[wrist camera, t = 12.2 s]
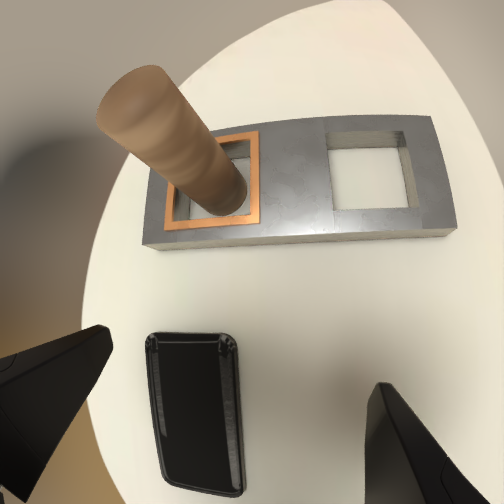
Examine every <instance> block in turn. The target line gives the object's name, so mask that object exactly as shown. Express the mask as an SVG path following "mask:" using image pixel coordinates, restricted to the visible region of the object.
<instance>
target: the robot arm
mask: <svg viewBox="0 0 504 504" xmlns="http://www.w3.org/2000/svg"><path fill="white" fill-rule="evenodd" d="M112 351H113V342H112V338H111V334H110V330H109V328H108V327H106V326H103V325H95V326H92V327H89V328H87V329H84V330H81V331H78V332H76V333H73V334H70V335H67V336H64V337H62V338H59V339H56V340H53V341H50V342H47V343H45V344H42V345H39V346H36V347H33V348H30V349H27V350H25V351H22V352H19V353H18V354H17V353H16V354H13V355H10V356H7V357H4V358H1V359H0V490H1V489H2V487H5V488H6V489H7V490H8V491H10V492H11V493H12V494H13V495H15V496H16V497H17V498H19V499H20V500H21V501H23V502H24V503H26V502H27V500H28V499H29V497H30V495H31V493H32V491H33V489H34V487H35V485H36V483H37V481H38V480H39V478H40V476H41V474H42V472H43V470H44V469H45V467H46V464H47V463H48V461H49V459H50V457H51V456H52V454H53V453H54V451H55V449H56V447H57V446H58V444H59V442H60V441H61V439H62V437H63V435H64V434H65V432H66V431H67V429H68V427H69V426H70V424H71V422H72V421H73V419H74V417H75V416H76V414H77V412H78V411H79V409H80V407H81V406H82V404H83V403H84V401H85V400H86V398H87V397H88V395H89V393H90V392H91V390H92V389H93V387H94V385H95V384H96V382H97V380H98V378H99V376H100V374H101V372H102V370H103V368H104V367H105V365H106V363H107V361H108V359H109V357H110V355H111V353H112ZM0 504H4V498H3V493H1V492H0ZM365 504H490V503H489V502H488V501H487V500H486V499H485V498H484V497H483V496H482V495H481V493H480V492H479V491H478V490H477V489H476V488H475V487H474V486H473V485H472V484H471V483H470V482H469V481H468V480H467V479H466V478H465V476H464V475H463V474H462V473H461V472H460V470H459V469H458V468H457V467H456V465H455V464H454V463H453V462H452V460H451V459H450V458H449V457H447V454H446V453H445V451H444V450H443V449H442V447H441V446H440V445H439V444H438V442H437V441H436V440H435V438H434V437H433V436H432V435H431V433H430V432H429V431H428V429H427V428H426V427H425V426H424V424H423V423H422V422H421V421H420V419H419V418H418V417H417V416H416V414H415V413H414V412H413V410H412V409H411V408H410V407H409V405H408V404H407V403H406V402H405V400H404V399H403V398H402V397H401V395H400V394H399V393H398V392H397V391H396V389H395V388H394V387H393V386H392V384H390V383H387V382H378V383H377V384H376V386H375V388H374V390H373V392H372V394H371V396H370V398H369V400H368V405H367V421H366V434H365Z"/></svg>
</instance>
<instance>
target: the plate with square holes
mask: <svg viewBox="0 0 504 504" xmlns="http://www.w3.org/2000/svg"><path fill="white" fill-rule="evenodd" d="M210 132H211V134H212V135H213V136H214V138H215V139H216V140H217V142H218V143H219V145H220V146H221V147H222V149H223V150H224V151H225V153H226V154H227V156H228V157H229V158H230V159H236V158H243V157H250V215H240V216H228V217H216V218H206V219H195V220H189V209H190V198H189V197H188V196H187V195H186V194H184V193H183V192H182V191H180V190H179V189H178V188H176V187H175V186H174V185H173V184H171V183H170V182H169V181H167V180H166V179H165V178H163V177H162V176H161V175H159V174H158V173H157V172H156V171H154V170H153V169H152V168H150V174H149V181H148V189H147V197H146V206H145V216H144V227H143V239H142V245H144V246H147V247H150V248H153V249H156V250H159V251H161V250H178V249H196V248H214V247H232V246H251V245H270V244H290V243H310V242H331V241H352V240H373V239H396V238H419V237H443V236H446V235H448V234H450V233H451V232H453V231H454V230H455V229H457V221H456V215H455V209H454V203H453V198H452V193H451V188H450V184H449V179H448V175H447V171H446V167H445V163H444V159H443V155H442V151H441V148H440V144H439V141H438V138H437V134H436V131H435V128H434V125H433V122H432V119H431V116H419V115H346V116H327V117H313V118H302V119H291V120H282V121H273V122H266V123H258V124H251V125H244V126H238V127H232V128H226V129H220V130H215V131H210ZM370 147H398V151H399V155H400V160H401V165H402V170H403V175H404V180H405V186H406V191H407V197H408V204H409V208H380V209H356V210H335V211H333V203H332V191H331V181H330V171H329V162H328V154H327V149H343V148H370Z"/></svg>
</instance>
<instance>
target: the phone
mask: <svg viewBox="0 0 504 504" xmlns="http://www.w3.org/2000/svg"><path fill="white" fill-rule="evenodd" d="M145 353H146V366H147V377H148V388H149V397H150V405H151V413H152V421H153V428H154V435H155V441H156V447H157V453H158V458H159V464H160V469H161V474H162V477H163V478H164V480H165V481H166V482H167V483H169V484H170V485H172V486H175V487H179V488H183V489H188V490H192V491H197V492H201V493H206V494H212V495H217V496H223V497H230V498H236V497H239V496H241V495H242V494H243V492H244V490H245V489H246V480H245V466H244V453H243V438H242V423H241V407H240V390H239V372H238V353H237V345H236V342H235V340H234V339H233V338H232V337H231V336H230V335H228V334H225V333H179V332H155V333H151V334H150V335H149V336H148V337H147V338H146V341H145Z"/></svg>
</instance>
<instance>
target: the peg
mask: <svg viewBox="0 0 504 504" xmlns="http://www.w3.org/2000/svg"><path fill="white" fill-rule="evenodd" d="M96 121H97V125H98V127H99V129H101V130H102V131H103V132H104V133H106V134H107V135H109V136H110V137H111V138H112V139H114V140H115V141H116V142H118V143H119V144H120V145H122V146H123V147H124V148H126V149H127V150H128V151H129V152H131V153H132V154H133V155H135V156H136V157H137V158H139V159H140V160H141V161H142V162H144V163H145V164H146V165H148V166H149V167H150V168H152V169H153V170H154V171H156V172H157V173H158V174H159V175H161V176H162V177H163V178H165V179H166V180H167V181H169V182H170V183H171V184H173V185H174V186H175V187H176V188H178V189H179V190H180V191H182V192H183V193H184V194H186V195H187V196H188V197H189V198H191V199H192V200H193V201H195V202H196V203H197V204H199V205H200V206H201V207H202V208H204V209H205V210H206V211H208V212H209V213H211V214H213V215H217V216H224V215H228V214H231V213H233V212H234V211H236V210H237V209H238V208H239V207H240V206H241V205H242V203H243V202H244V200H245V198H246V194H247V185H246V182H245V180H244V178H243V177H242V175H241V174H240V173H239V171H238V170H237V168H236V167H235V165H234V164H233V163H232V161H231V160H230V158H229V157H228V156H227V154H226V153H225V151H224V150H223V149H222V147H221V146H220V145H219V143H218V142H217V140H216V139H215V138H214V136H213V135H212V134H211V132H210V131H209V129H208V128H207V127H206V125H205V124H204V123H203V121H202V120H201V119H200V117H199V116H198V115H197V113H196V112H195V111H194V109H193V108H192V107H191V105H190V104H189V103H188V101H187V100H186V99H185V97H184V96H183V95H182V93H181V92H180V91H179V89H178V88H177V87H176V86H175V84H174V83H173V82H172V80H171V79H170V78H169V76H168V75H167V74H166V72H165V71H164V70H163V69H162V68H161V67H159V66H155V65H147V66H143V67H140V68H137V69H134V70H132V71H131V72H129V73H127V74H126V75H124V76H123V77H122V78H121V79H119V80H118V81H117V82H116V83H115V84H114V85H113V86H112V87H111V88H110V89H109V90H108V92H107V93H106V94H105V96H104V97H103V99H102V101H101V103H100V105H99V108H98V111H97V116H96Z"/></svg>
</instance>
